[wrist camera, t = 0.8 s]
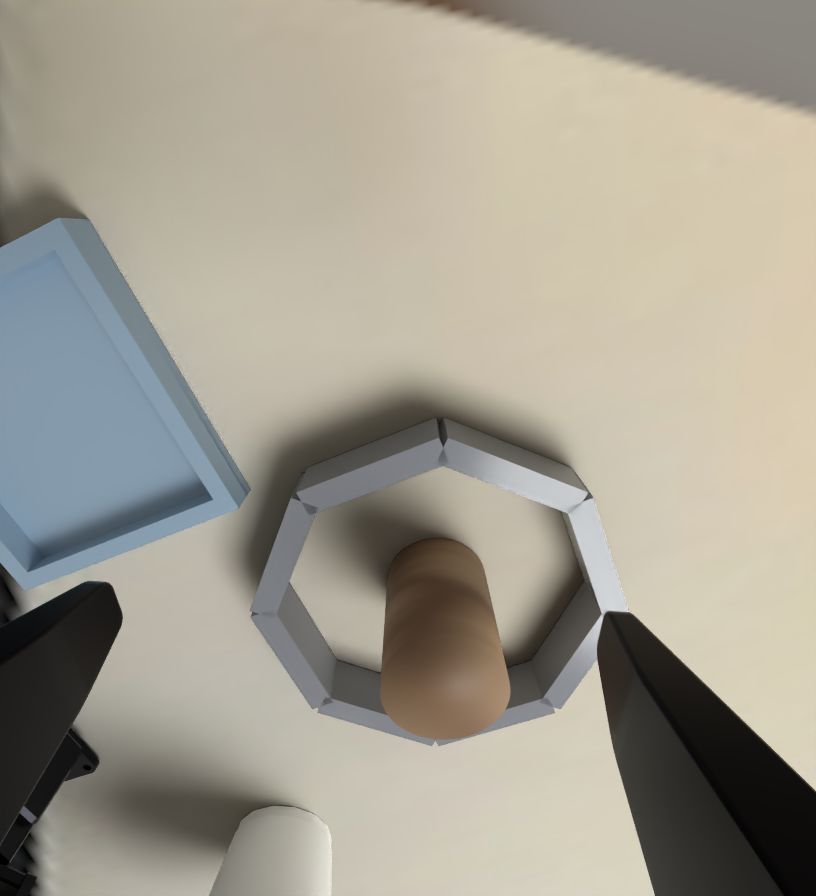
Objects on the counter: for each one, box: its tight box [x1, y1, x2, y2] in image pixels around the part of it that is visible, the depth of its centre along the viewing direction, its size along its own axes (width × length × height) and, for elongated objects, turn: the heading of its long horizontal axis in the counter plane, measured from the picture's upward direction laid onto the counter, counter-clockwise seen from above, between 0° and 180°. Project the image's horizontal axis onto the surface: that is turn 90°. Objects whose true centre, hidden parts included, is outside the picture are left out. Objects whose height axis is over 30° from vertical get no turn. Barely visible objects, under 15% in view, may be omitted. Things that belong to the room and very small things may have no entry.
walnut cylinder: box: [380, 538, 510, 740], centre depth 23 cm, size 5×5×7 cm
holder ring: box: [250, 418, 629, 746], centre depth 25 cm, size 16×16×2 cm
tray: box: [0, 218, 251, 591], centre depth 22 cm, size 12×13×2 cm
